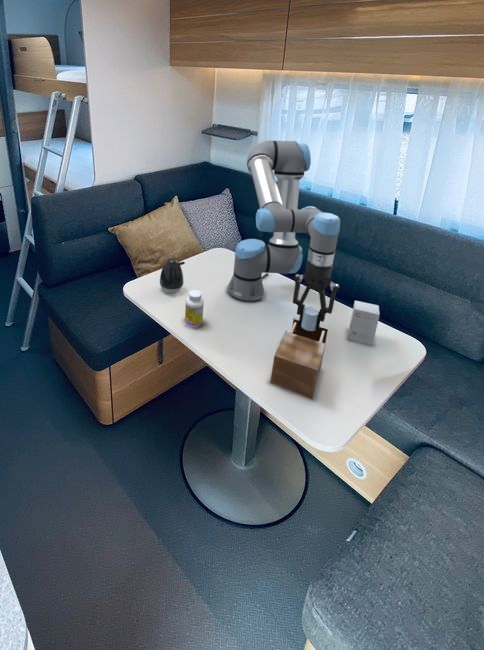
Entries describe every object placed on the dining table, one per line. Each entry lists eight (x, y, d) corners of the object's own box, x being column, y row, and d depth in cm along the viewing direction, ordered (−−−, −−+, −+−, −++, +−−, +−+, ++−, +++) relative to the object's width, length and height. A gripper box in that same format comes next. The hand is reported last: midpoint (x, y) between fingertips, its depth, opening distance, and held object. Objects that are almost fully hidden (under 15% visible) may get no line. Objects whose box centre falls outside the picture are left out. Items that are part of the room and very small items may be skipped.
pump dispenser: (181, 298, 170) (182, 265, 164) (157, 295, 171) (157, 262, 166) (185, 285, 179) (186, 254, 174) (162, 282, 181) (162, 252, 175)
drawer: (293, 331, 149) (296, 311, 146) (326, 342, 144) (330, 321, 141) (282, 358, 135) (285, 336, 132) (317, 371, 130) (322, 348, 127)
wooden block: (281, 357, 137) (285, 331, 134) (320, 370, 132) (325, 343, 128) (270, 383, 126) (274, 355, 122) (312, 399, 120) (317, 370, 117)
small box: (372, 335, 149) (379, 305, 145) (372, 346, 144) (380, 314, 139) (348, 329, 152) (354, 299, 148) (347, 339, 147) (354, 308, 142)
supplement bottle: (181, 320, 155) (182, 290, 151) (196, 315, 158) (198, 286, 154) (190, 330, 150) (192, 300, 145) (205, 325, 153) (207, 295, 148)
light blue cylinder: (302, 320, 137) (305, 305, 135) (317, 325, 135) (320, 309, 133) (299, 328, 133) (302, 312, 131) (314, 332, 131) (317, 316, 129)
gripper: (287, 260, 127) (279, 323, 135) (349, 274, 119) (335, 340, 127) (293, 251, 133) (284, 312, 142) (352, 264, 126) (339, 328, 134)
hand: (308, 325), depth 134 cm, fingers closed on light blue cylinder, 5 cm apart
